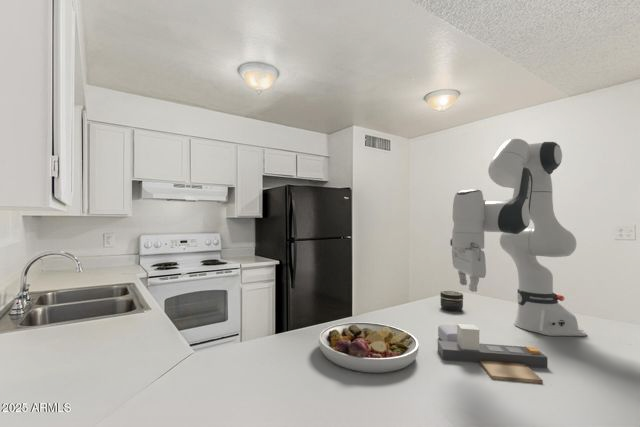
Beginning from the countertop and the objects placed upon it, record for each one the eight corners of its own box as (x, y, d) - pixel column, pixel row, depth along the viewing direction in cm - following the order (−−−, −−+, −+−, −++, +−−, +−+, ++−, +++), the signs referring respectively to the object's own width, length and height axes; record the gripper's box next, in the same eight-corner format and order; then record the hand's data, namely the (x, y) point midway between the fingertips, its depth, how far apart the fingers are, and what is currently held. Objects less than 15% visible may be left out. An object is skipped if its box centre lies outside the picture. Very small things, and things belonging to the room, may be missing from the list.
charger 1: (457, 332, 115) (476, 349, 100) (432, 331, 115) (447, 348, 100) (457, 319, 115) (476, 334, 100) (432, 319, 116) (447, 333, 101)
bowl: (334, 331, 114) (335, 310, 115) (420, 343, 104) (420, 319, 105) (303, 366, 86) (304, 338, 86) (416, 387, 76) (416, 355, 76)
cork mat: (525, 367, 87) (525, 364, 87) (542, 383, 78) (542, 380, 79) (479, 363, 89) (479, 360, 89) (491, 378, 80) (491, 375, 80)
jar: (443, 305, 153) (443, 289, 154) (465, 308, 148) (465, 292, 148) (437, 309, 145) (437, 293, 145) (460, 313, 139) (460, 296, 140)
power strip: (534, 357, 94) (534, 344, 94) (547, 368, 87) (547, 354, 87) (437, 349, 98) (437, 337, 98) (442, 359, 91) (442, 346, 91)
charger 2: (474, 349, 95) (474, 324, 96) (479, 355, 91) (479, 329, 91) (457, 348, 96) (457, 323, 96) (461, 354, 92) (461, 328, 92)
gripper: (492, 244, 84) (492, 296, 83) (468, 240, 104) (468, 282, 104) (467, 244, 85) (467, 294, 84) (448, 240, 105) (448, 281, 105)
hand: (467, 287), depth 94 cm, fingers open, 8 cm apart
